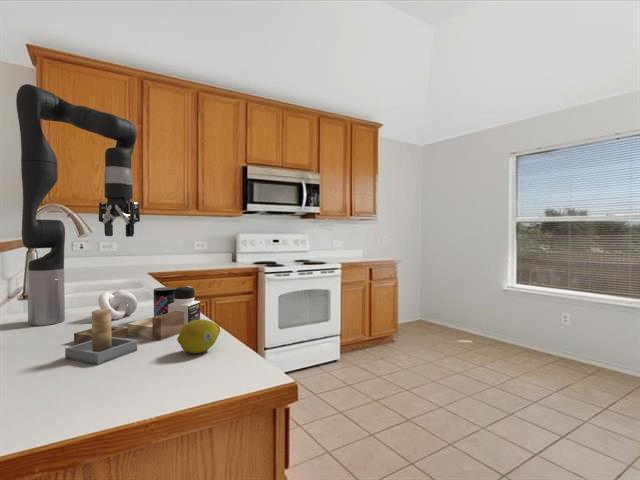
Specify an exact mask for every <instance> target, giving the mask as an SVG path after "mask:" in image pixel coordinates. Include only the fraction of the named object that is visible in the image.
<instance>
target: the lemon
mask: <svg viewBox="0 0 640 480" xmlns="http://www.w3.org/2000/svg"><path fill="white" fill-rule="evenodd" d="M220 333H221V328H220V325H218V324H217V323H214V322H213V321H211V320H207V319H200V320H194V321H191V322H189V323H187V324H186V325H184V326H183V328H182V329H181V331H180V333H179V334H178V336H177V339H176V340H177V343H178V344H179V346H180V347H181V349H182V350H183V351H184V352H185V353H188V354H194V355H195V354H201V353H204V352H206V351H207V350H209V349H210V348H212V347H213V346H214V345H215V344H216V341H217V339H218V337H219V335H220Z"/></svg>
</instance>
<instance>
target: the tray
mask: <svg viewBox="0 0 640 480" xmlns="http://www.w3.org/2000/svg"><path fill="white" fill-rule="evenodd" d="M64 350H65V351H64V352H65V353H64V354H65V355H64V357H65V358H64V359H65V360H70V361H75V362H80V363H86V364H90V365H95V366H99V365H102V364H105V363H107V362H111V361H113V360H116V359H118V358H120V357H121V358H122V357H123V356H126V355H129V354H131V353H134V352H137V351H138V340H137V339H136V340H135V339H129V338H116V337H112V348H110V349H107V350H104V351H101V352H94V351H92V340H91V341H88V342H84V343H81V344H80V343H77V344H75V345H71V346H68V347H65V348H64Z"/></svg>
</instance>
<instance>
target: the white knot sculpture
mask: <svg viewBox="0 0 640 480" xmlns="http://www.w3.org/2000/svg"><path fill="white" fill-rule="evenodd" d="M97 301H98V306H99V308H100V309H110V310H111V320H113V321H115V320H116V321H117V319H118V320H120V319H122V318H123V317H125V315H126V316H129V315H132V314H133V313H135V312H136V310H137V308H138V300H137V298H136V296H135V295H134V294H132V293H131V292H128V291H125V290H123V289H117V290H115V291H114V292H112V293H111V292H109V291H108V292H102V293H101V294H100V295H99V296H98V299H97Z"/></svg>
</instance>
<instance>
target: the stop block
mask: <svg viewBox="0 0 640 480" xmlns="http://www.w3.org/2000/svg"><path fill="white" fill-rule="evenodd" d="M151 318H152V327H153V339H152V340H156V341H163V340H165V339H167V338H168V339H169V338H171V337H174V336H177V335H179V334H180V331H181V329H182V328H183V326H184V312H182V311H174V312H170V313H167V314H163V315H160V316H156V317H154V316H153V317H151Z"/></svg>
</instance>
